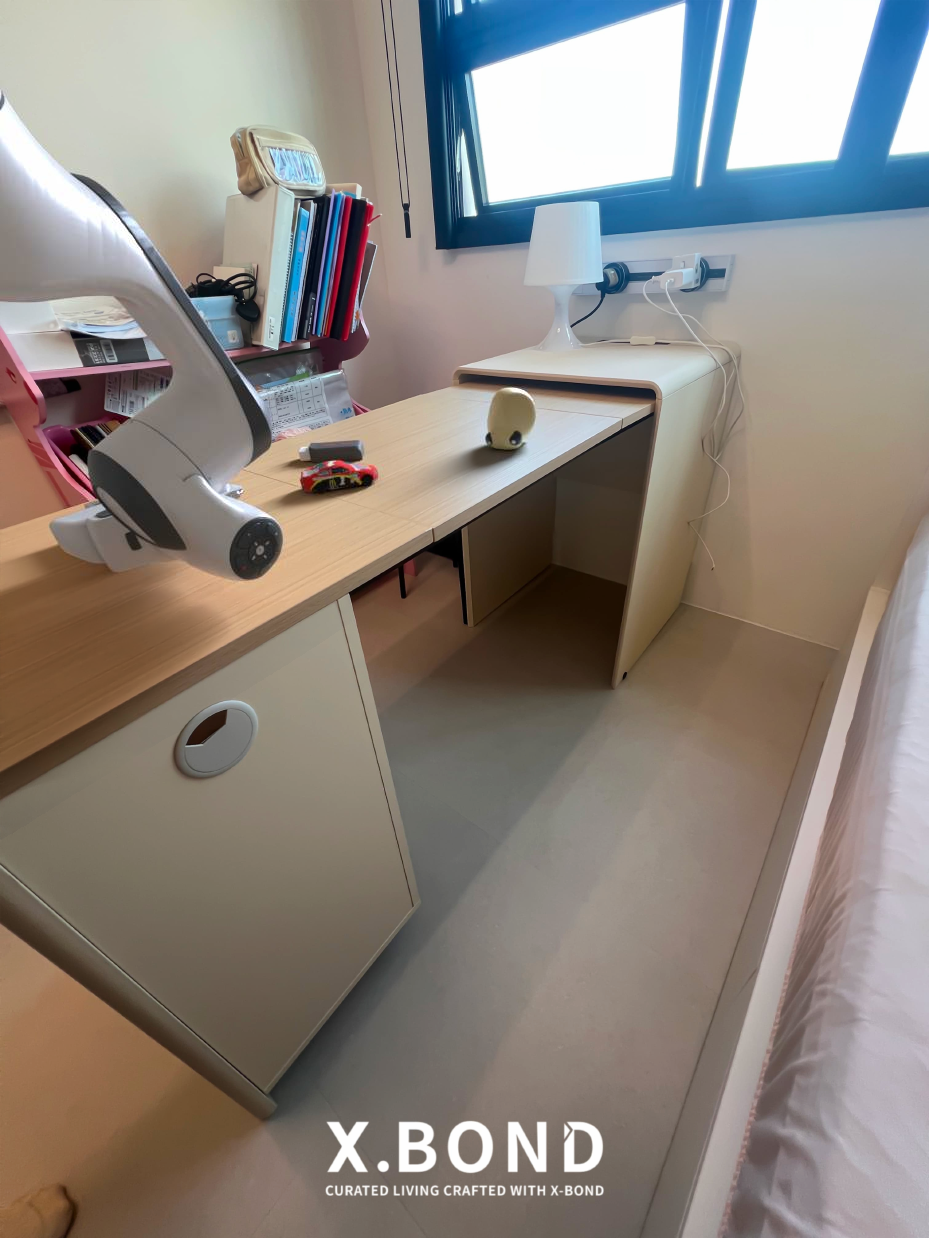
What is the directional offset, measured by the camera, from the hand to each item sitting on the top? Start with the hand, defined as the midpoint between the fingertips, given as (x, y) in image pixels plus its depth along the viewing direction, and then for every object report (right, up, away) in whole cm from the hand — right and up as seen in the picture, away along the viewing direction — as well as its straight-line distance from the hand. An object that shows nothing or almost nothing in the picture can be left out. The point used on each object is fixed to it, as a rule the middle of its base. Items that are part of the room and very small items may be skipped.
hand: (120, 498), depth 67 cm
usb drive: (+20, +16, +33) cm, 42 cm away
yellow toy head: (+55, +19, +35) cm, 68 cm away
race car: (+24, +7, +20) cm, 33 cm away
